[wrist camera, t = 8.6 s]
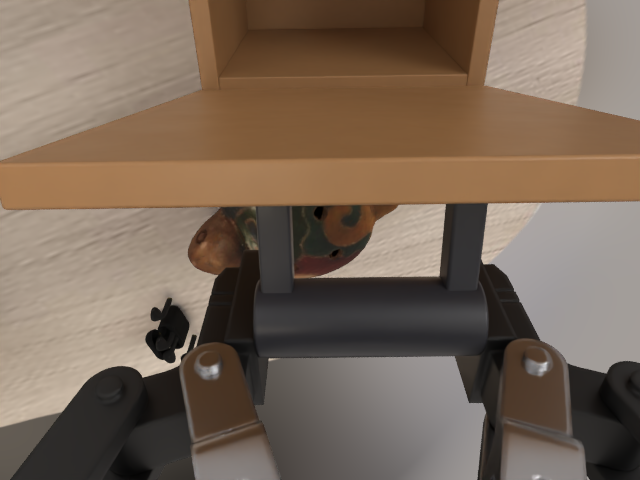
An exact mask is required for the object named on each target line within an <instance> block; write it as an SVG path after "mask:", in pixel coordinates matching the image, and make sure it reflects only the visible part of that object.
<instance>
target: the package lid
mask: <svg viewBox="0 0 640 480" xmlns="http://www.w3.org/2000/svg"><path fill="white" fill-rule="evenodd" d="M0 200H1V204H2V207H3V208H4V209H6V210H36V209H110V208H183V207H255V208H256V223H257V237H258V252H259V267H260V280H259V281H258V283H257V285H256V289H255V295H254V307H253V335H254V345H255V350H256V353H257V356H258V357H259V358H331V357H332V358H337V357H414V356H415V357H418V356H419V357H420V356H477V355H480V354H481V353H482V352H483V351H484V349H485V346H486V343H487V338H488V328H489V317H488V307H487V301H486V297H485V293H484V290H483V287H482V285H481V283H480V281H479V280H478V279H479V271H480V262H481V254H482V246H483V238H484V230H485V222H486V214H487V205H488V203H545V202H546V203H549V202H623V201H640V121H639V120H634V119H630V118H626V117H621V116H617V115H612V114H608V113H603V112H599V111H595V110H590V109H586V108H582V107H577V106H573V105H568V104H564V103H559V102H555V101H551V100H546V99H542V98H537V97H533V96H529V95H524V94H520V93H515V92H511V91H506V90H502V89H498V88H493V87H489V86H442V87H375V88H308V89H240V90H200V91H197V92H194V93H191V94H189V95H186V96H183V97H180V98H177V99H174V100H172V101H169V102H166V103H163V104H160V105H157V106H155V107H152V108H149V109H146V110H143V111H140V112H138V113H135V114H132V115H129V116H126V117H123V118H121V119H118V120H115V121H112V122H109V123H106V124H104V125H101V126H98V127H95V128H92V129H89V130H87V131H84V132H81V133H78V134H75V135H72V136H70V137H67V138H64V139H61V140H58V141H55V142H53V143H50V144H47V145H44V146H41V147H38V148H36V149H33V150H30V151H27V152H24V153H21V154H19V155H16V156H13V157H10V158H7V159H4V160H2V161H0ZM403 204H446V210H445V221H444V232H443V244H442V255H441V266H440V276H439V277H361V278H295V277H294V250H293V224H292V206H330V205H403Z"/></svg>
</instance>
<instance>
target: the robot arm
mask: <svg viewBox="0 0 640 480" xmlns="http://www.w3.org/2000/svg"><path fill="white" fill-rule="evenodd" d="M259 280H260V267H259V252H258V250H244V251H243V255H242V259H241V264H240V267H226V268H225V269H224V270H223V271H222V272H221V273H220V274H219V275H218V277H217V278H216V279H215V281H214V285H213V289H212V292H211V293H212V295H211V296H210V300H209V306H208V307H207V310H206V314H205V318H204V321H203V325H202V328H201V332H200V336H199V339H198V343H197V346H196V347H195V348H194V349H192V350H191V351H190V352H188V353H187V354H186V355H185V356H184V358H183V359H182V361H181V363H180V365H179V366H178V367H176V368H174V369H171V370H169V371H166V372H162V373H159V374H155V375H151V376H148V377H144V378H142V375H141V374H140V373H139V372H138V371H137V370H135V369H133V368H131V367H126V366H117V367H112V368H108V369H105V370H103V371H101V372H99V373H97V374H95V375H94V376H93V377H91V378H90V379H89V380H88V381H87V382H86V383H85V384H84V385H83V386H82V388H81V389H80V390H79V392H78V393H77V394H76V395H75V397H74V398H73V399H72V401H71V402H70V403H69V404H68V406H67V407H66V408H65V410H64V411H63V412H62V414H61V415H60V416H59V417H58V419H57V420H56V421H55V422H54V424H53V425H52V426H51V428H50V429H49V430H48V432H47V433H46V434H45V435H44V437H43V438H42V439H41V441H40V442H39V443H38V445H37V446H36V447H35V448H34V450H33V451H32V452H31V453H30V455H29V456H28V457H27V459H26V460H25V461H24V463H23V464H22V465H21V466H20V468H19V469H18V471H17V472H16V473H15V474H14V475H13V477H12V478H11V479H10V480H158V478H159V476H160V474H161V472H162V470H163V468H164V466H165V465H166V464H169V463H172V462H175V461H178V460H182V459H185V458H188V457H191V456H192V461H193V467H194V473H195V479H196V480H281V477H280V474H279V471H278V468H277V465H276V462H275V459H274V456H273V453H272V449H271V447H270V443H269V440H268V437H267V434H266V431H265V428H264V425H263V423H262V421H259V418H258V415H257V412H256V409H255V406H254V405H263V404H264V396H265V386H266V378H267V369H268V359H269V358H259V357H258V356H257V353H256V350H255V345H254V335H253V307H254V295H255V289H256V285H257V283H258V281H259ZM478 280H479V281H480V283H481V285H482V287H483V290H484V293H485V297H486V301H487V307H488V317H489V328H488V338H487V343H486V346H485V349H484V351H483V352H482V353H481V354H480V355H477V356H455V358H456V361H457V365H458V368H459V371H460V375H461V378H462V381H463V384H464V388H465V391H466V394H467V398H468V401H469V403H483V404H484V407H485V410H486V415H485V419H484V422H483V431H482V441H481V442H482V443H481V450H480V460H479V470H478V479H477V480H587V476H588V478H589V479H590V480H640V363H637V362H631V361H623V362H618V363H615V364H613V365H612V366H611V367H610V368H609V370H608V372H607V374H605V373H601V372H597V371H592V370H588V369H584V368H580V367H576V366H573V365H570V364H567V362H566V360H565V358H564V357H563V355H562V354H561V353H560V352H559V351H557V350H556V349H555V348H554V347H552V346H550V345H549V344H547V343H545V342H542V341H540V339H539V337H538V335H537V333H536V331H535V329H534V327H533V325H532V323H531V321H530V319H529V317H528V316H527V314H526V312H525V310H524V308H523V306H522V304H521V303H520V302H519V298H518V296H517V294H516V292H514V288H513V286H512V284H511V283H510V281H509V279H508V277H507V275H505V274H504V273H503V272H502V271H501V270H499V268H497V267H496V266H495V265H494V264H484V265H483V262H482V260H481V262H480V271H479V279H478Z"/></svg>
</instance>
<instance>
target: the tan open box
mask: <svg viewBox="0 0 640 480" xmlns="http://www.w3.org/2000/svg"><path fill="white" fill-rule="evenodd" d="M498 3H499V0H189V6H190V13H191V19H192V26H193V33H194V39H195V46H196V52H197V59H198V66H199V72H200V79H201V85H202V90H240V89H308V88H375V87H442V86H484V82H485V76H486V70H487V65H488V59H489V53H490V48H491V42H492V36H493V31H494V25H495V19H496V14H497V8H498Z"/></svg>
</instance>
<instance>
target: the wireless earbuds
mask: <svg viewBox="0 0 640 480" xmlns="http://www.w3.org/2000/svg"><path fill="white" fill-rule="evenodd" d="M171 302H172V298H167V301H166V303H165V306H164V308H163V311H162V312H161V311H160V310H159V309H158V308H156V307H154V308H152V310H151V320H152V321H158V320H161V322H160V324H159V327H158V330H156V329H155V330H151V331H150V332H148V333H147V335H146V338H145V340H146V343H147V345H148V346H149V347H150V349H151V350H152V351H153V353H154V354H155V355H156V357H157V358H159V359H161V360H165V361H166V362H168V363H174V362H175V359H176V357H175V353H174V351H175V349H180V348H182V347H183V346H184V343H185V340H186V337H187V333H188V330H189V322H188V320H187V319H186V317H185V316H184V314H183V313H182V311H181V310H180V308H178V307H177V306H170V305H171ZM196 338H197V336H196V335H192V338H191V341H190V345H189V348H188V351H187V353H188V352H190V351H191V350H192V349H193V348H194V344H195V341H196ZM187 353H185V354H183V355H182V356H181V361H182V359H183V358H184V356H185V355H186V354H187Z"/></svg>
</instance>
